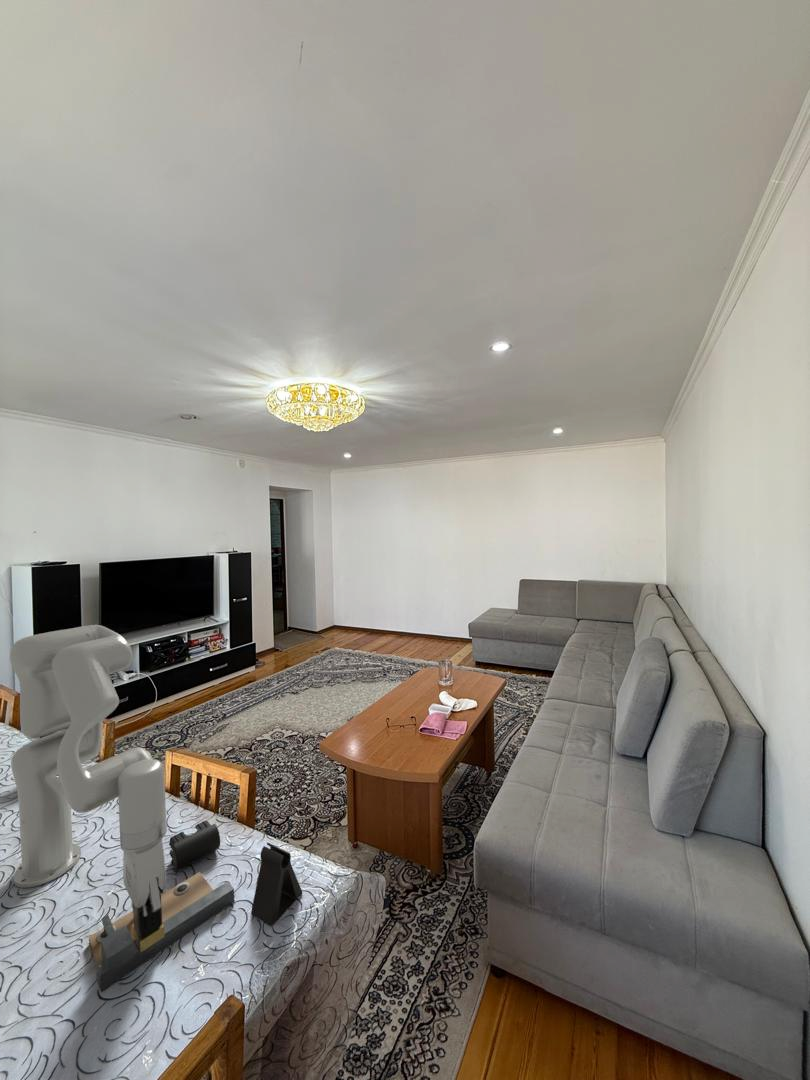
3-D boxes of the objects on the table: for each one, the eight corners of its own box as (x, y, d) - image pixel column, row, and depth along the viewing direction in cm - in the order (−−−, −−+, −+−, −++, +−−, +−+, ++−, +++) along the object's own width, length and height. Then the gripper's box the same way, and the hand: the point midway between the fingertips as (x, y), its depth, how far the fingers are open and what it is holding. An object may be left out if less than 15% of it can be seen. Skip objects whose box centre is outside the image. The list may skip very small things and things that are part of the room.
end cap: (177, 880, 98) (176, 851, 98) (168, 863, 103) (167, 836, 103) (221, 855, 105) (220, 828, 105) (210, 841, 110) (209, 815, 110)
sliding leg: (123, 918, 86) (121, 874, 86) (145, 905, 89) (143, 863, 89) (140, 958, 78) (138, 909, 77) (164, 942, 81) (162, 895, 80)
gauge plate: (89, 944, 83) (88, 935, 83) (199, 878, 98) (199, 870, 98) (98, 972, 77) (97, 963, 77) (214, 897, 93) (213, 890, 93)
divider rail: (87, 951, 82) (86, 920, 81) (213, 875, 99) (212, 849, 99) (102, 996, 73) (100, 963, 73) (236, 904, 91) (235, 877, 91)
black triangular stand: (283, 883, 96) (281, 831, 96) (302, 894, 93) (300, 840, 93) (250, 914, 88) (248, 858, 88) (270, 927, 85) (268, 869, 85)
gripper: (109, 821, 83) (114, 912, 84) (133, 864, 72) (138, 969, 72) (152, 802, 89) (156, 888, 89) (180, 839, 77) (184, 937, 78)
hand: (148, 923), depth 81 cm, fingers closed on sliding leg, 3 cm apart
